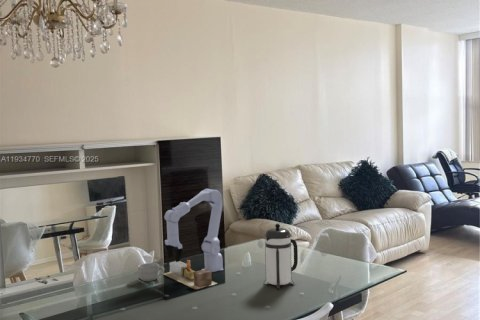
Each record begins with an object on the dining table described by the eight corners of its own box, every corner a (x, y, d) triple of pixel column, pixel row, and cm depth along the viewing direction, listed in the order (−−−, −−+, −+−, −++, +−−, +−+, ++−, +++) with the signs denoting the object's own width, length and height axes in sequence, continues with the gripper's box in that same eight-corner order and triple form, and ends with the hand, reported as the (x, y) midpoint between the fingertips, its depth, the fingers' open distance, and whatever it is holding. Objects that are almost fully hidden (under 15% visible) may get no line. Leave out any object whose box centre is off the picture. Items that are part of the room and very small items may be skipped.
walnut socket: (206, 281, 239) (205, 269, 239) (211, 284, 235) (211, 271, 235) (194, 285, 235) (193, 271, 235) (199, 287, 231) (199, 274, 231)
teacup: (134, 281, 245) (133, 266, 244) (147, 275, 254) (147, 260, 254) (156, 285, 238) (155, 269, 238) (169, 278, 248) (168, 263, 247)
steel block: (179, 270, 259) (178, 260, 259) (190, 275, 250) (190, 265, 249) (169, 272, 256) (169, 262, 255) (181, 278, 246) (180, 267, 246)
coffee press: (295, 290, 225) (293, 227, 223) (261, 289, 228) (259, 226, 226) (298, 278, 242) (297, 219, 240) (266, 277, 245) (265, 219, 243)
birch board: (183, 269, 263) (183, 268, 263) (218, 284, 236) (217, 283, 236) (162, 274, 255) (162, 273, 255) (195, 290, 229) (195, 289, 229)
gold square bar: (177, 269, 258) (176, 254, 257) (196, 277, 243) (195, 261, 242) (172, 270, 256) (171, 255, 256) (191, 278, 241) (190, 262, 240)
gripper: (159, 232, 248) (160, 258, 250) (172, 237, 237) (174, 264, 238) (171, 230, 253) (172, 255, 254) (185, 235, 241) (186, 261, 242)
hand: (174, 259), depth 246 cm, fingers open, 7 cm apart
